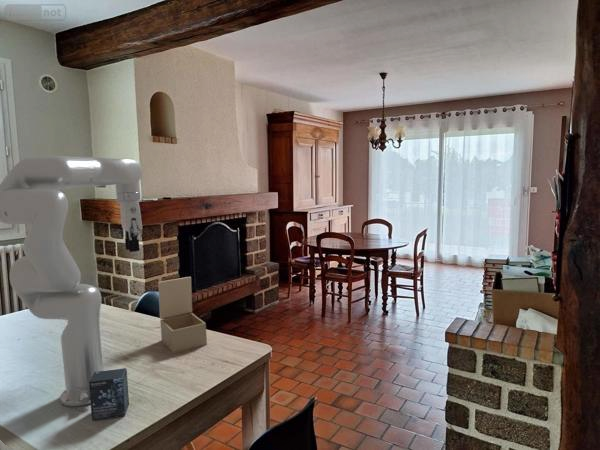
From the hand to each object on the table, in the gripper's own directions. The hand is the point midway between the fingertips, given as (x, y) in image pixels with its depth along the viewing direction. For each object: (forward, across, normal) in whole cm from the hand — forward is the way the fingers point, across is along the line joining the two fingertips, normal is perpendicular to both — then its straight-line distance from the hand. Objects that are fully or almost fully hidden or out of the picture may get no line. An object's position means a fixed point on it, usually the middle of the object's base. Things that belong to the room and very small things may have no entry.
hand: (132, 249), depth 139 cm
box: (+36, -38, +16) cm, 55 cm away
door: (+20, 0, -14) cm, 24 cm away
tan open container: (+35, -6, -14) cm, 39 cm away
